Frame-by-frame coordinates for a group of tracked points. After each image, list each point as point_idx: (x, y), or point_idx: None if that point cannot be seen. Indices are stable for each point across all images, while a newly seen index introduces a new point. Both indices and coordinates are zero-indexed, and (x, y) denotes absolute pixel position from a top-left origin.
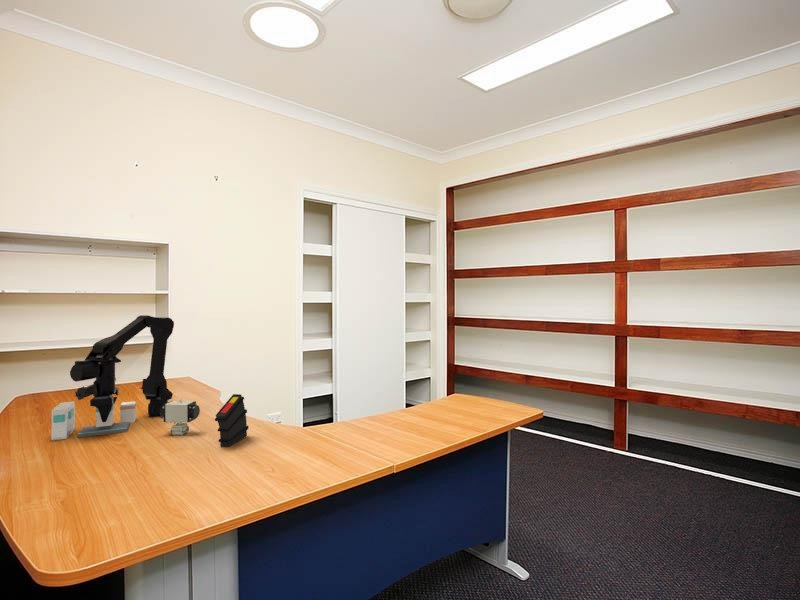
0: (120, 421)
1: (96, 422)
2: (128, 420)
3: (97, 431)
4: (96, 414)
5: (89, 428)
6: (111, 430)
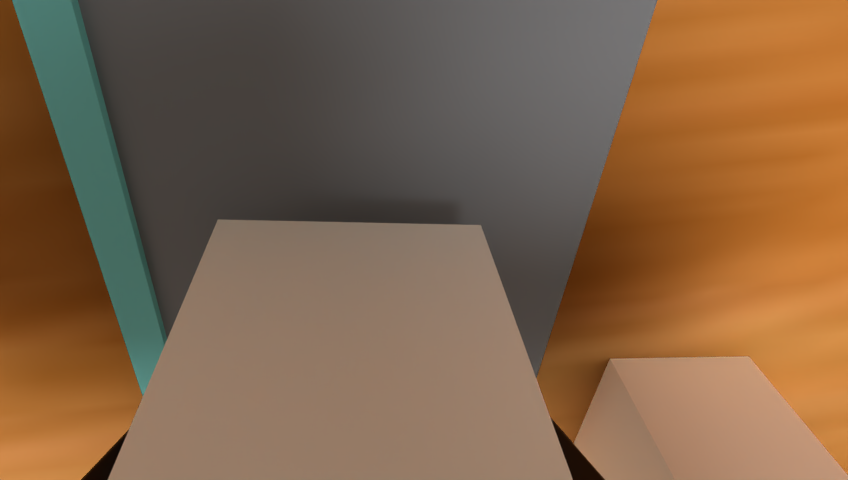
0: (620, 383)
1: (197, 285)
2: (596, 439)
3: (92, 226)
4: (125, 460)
5: (441, 68)
6: (139, 365)
